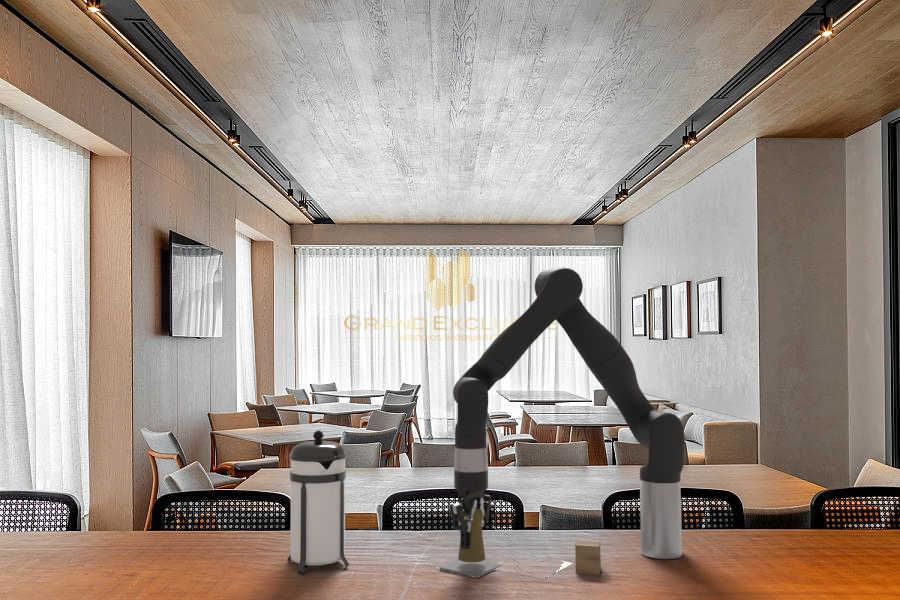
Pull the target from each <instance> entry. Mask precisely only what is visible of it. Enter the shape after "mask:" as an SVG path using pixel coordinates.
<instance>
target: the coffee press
mask: <svg viewBox="0 0 900 600" xmlns="http://www.w3.org/2000/svg"><path fill="white" fill-rule="evenodd" d="M324 436H325V435H324V433H323V432H322V431H321V430H315V431H314V433H313V435H312V437H313V439H314V440H313V441H304V442H300V443H298V444H296V445H294V446H293V448H292V450H291V452H290V453H289V455H288V458H289V461H290V471H289V481H290V532H289V534H290V537H289V539H290V550H289V551H290V553H289V556H288V557H287V563H288V564H290V563H291V564H294V563H296V564H298V567H297V572H296V573H297V574H298V575H301V576H302V575H306V573H307V571H308V569H309V567H311V566H312V567H313V566H315V567H316V566H326V565H331V564H335V565H337V566H338V567H339V568H340V569H341V570H345V569H347V568H348V567H349V564H350V563H349V561H348V560H347V559H346V557H345V551H346V549H345V546H346V539H345V538H346V536H345V535H346V533H345V532H346V526H345V525H346V497H345V496H346V478H347V469H346V459H347V457H348V453H347V452H346V451H345V448H344V446H343V445H341V443H338V442H337V441H336V442H335V441H332V440H331V441H330V440H329V441H328V440H323V438H324ZM340 560H341V561H342V562H343V563H344V565H343V563H341V561H340Z"/></svg>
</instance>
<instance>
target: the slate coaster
mask: <svg viewBox="0 0 900 600" xmlns="http://www.w3.org/2000/svg"><path fill="white" fill-rule="evenodd" d="M500 566H502V564H501V563H500V562H495V561H489V560H486V559H485V560H483V561H480V562H464V561H460V560H459V559H456V560H454V561H451V562H449V563H447V564H445V565H442V566H440V567H439V571H442V572H446V573H451V574H455V573H456V574H457V575H460V574H463V575H462V576H465V575H468V576H467V577H470V576H474V577H473V578H475V577H479V576H482V575H484V574H486V573H487V572H490V571H492V570H494V569H496V568H498V567H500ZM494 571H495V570H494ZM492 572H493V571H492ZM490 573H491V572H490ZM486 575H487V574H486ZM484 576H485V575H484ZM482 577H483V576H482Z"/></svg>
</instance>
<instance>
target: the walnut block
mask: <svg viewBox="0 0 900 600" xmlns="http://www.w3.org/2000/svg"><path fill="white" fill-rule="evenodd" d="M574 545H575V549H574V550H575V552H574V553H575V554H574V555H575V574H581V575H582V574H583V575H599V576H600V573H601V540H594V539H593V540H592V539H582V538H581V539H578V538H577V540H576V543H575V544H574Z"/></svg>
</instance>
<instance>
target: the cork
mask: <svg viewBox="0 0 900 600" xmlns="http://www.w3.org/2000/svg"><path fill="white" fill-rule="evenodd" d="M463 514H464V513H463ZM469 515H470V514H464V517H469ZM482 520H483V512H482V510H480V509H479V508H477V509H475V513H474V516H473V521H471V530H470V532H471V542H470V549H462V548H461V539H460V540H459V551H458V559H459V560H460V561H464V562H480V561H483V560H485V561H486V554H485V546H484V545H485V544H484V537H483V528H482V529H481V522H482ZM465 524H466V525H467V520H465ZM458 559H457V560H458Z"/></svg>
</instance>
